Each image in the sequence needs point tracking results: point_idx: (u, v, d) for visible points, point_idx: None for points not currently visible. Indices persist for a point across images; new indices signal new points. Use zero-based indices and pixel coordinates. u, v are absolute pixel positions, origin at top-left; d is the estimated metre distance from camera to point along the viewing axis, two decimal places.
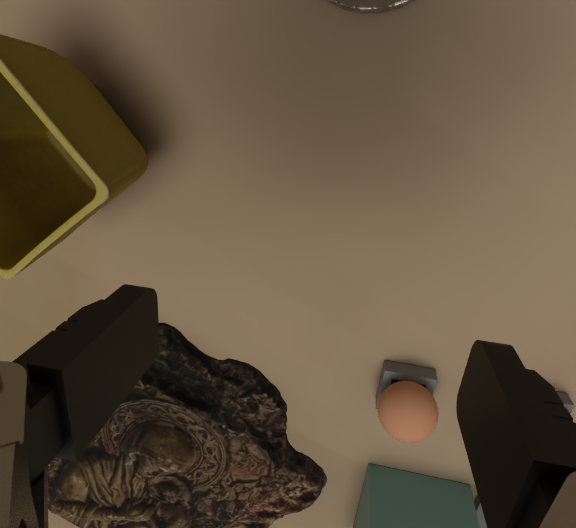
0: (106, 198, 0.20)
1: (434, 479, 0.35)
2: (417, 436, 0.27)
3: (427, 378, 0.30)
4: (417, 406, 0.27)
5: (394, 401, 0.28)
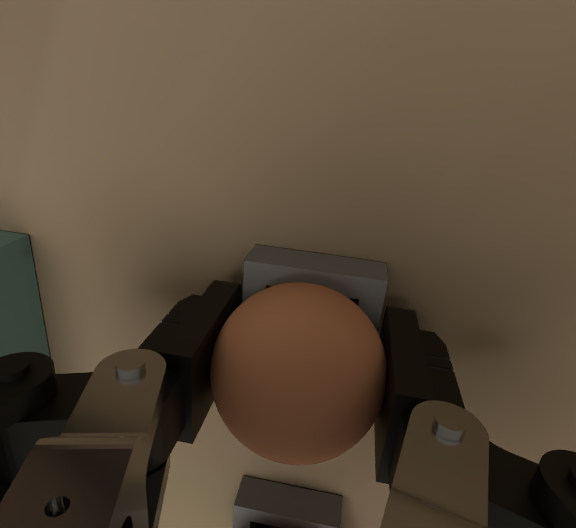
0: None
1: None
2: (270, 448, 0.08)
3: None
4: (366, 426, 0.09)
5: (364, 357, 0.08)
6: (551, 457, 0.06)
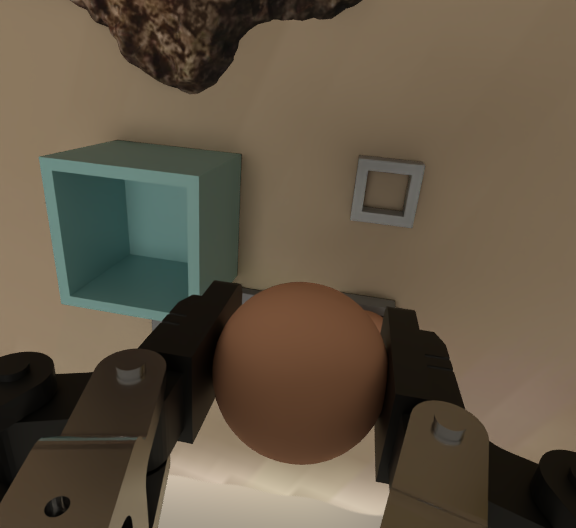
0: None
1: (237, 237, 0.28)
2: (272, 447, 0.08)
3: (413, 217, 0.24)
4: (368, 426, 0.09)
5: (366, 357, 0.08)
6: (551, 457, 0.06)
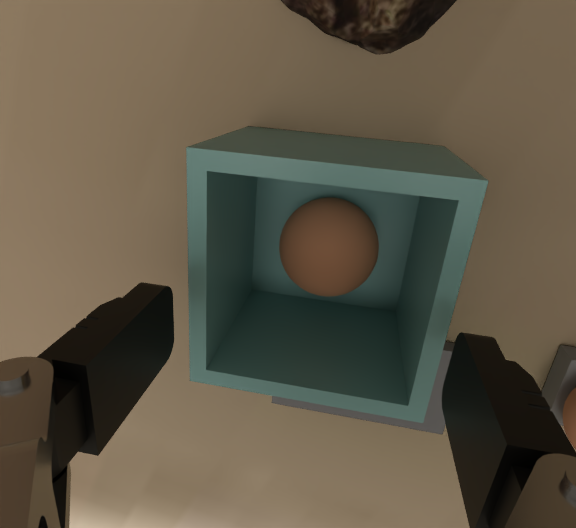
0: None
1: None
2: (316, 277, 0.16)
3: None
4: (367, 268, 0.16)
5: (366, 230, 0.16)
6: None
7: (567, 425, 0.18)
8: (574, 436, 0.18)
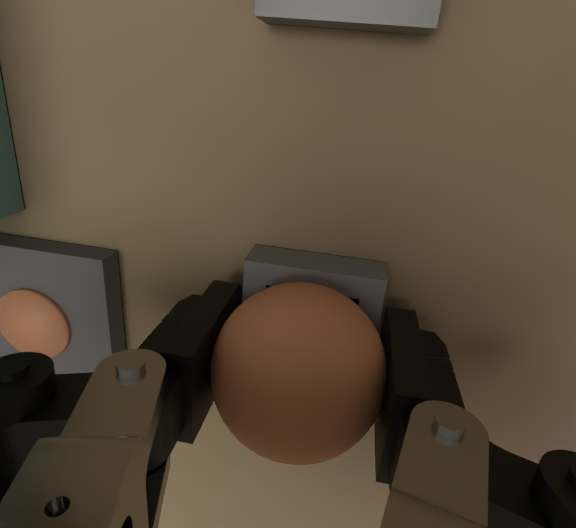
0: None
1: (0, 109, 0.11)
2: None
3: None
4: None
5: None
6: (551, 457, 0.06)
7: None
8: None
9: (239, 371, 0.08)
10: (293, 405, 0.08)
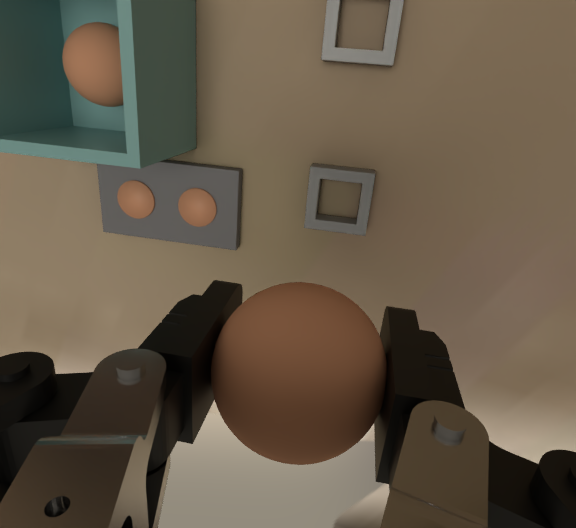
0: None
1: (194, 98, 0.24)
2: (81, 75, 0.21)
3: (394, 50, 0.21)
4: None
5: None
6: (551, 457, 0.06)
7: None
8: None
9: (240, 371, 0.08)
10: (294, 405, 0.08)
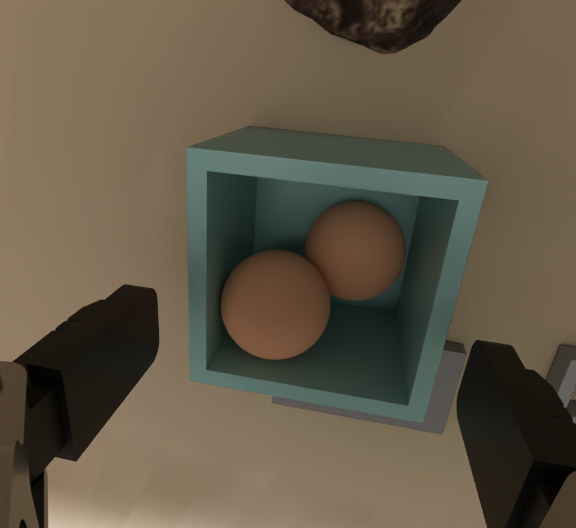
0: None
1: None
2: (372, 283, 0.16)
3: None
4: (403, 263, 0.17)
5: (399, 227, 0.16)
6: None
7: None
8: None
9: None
10: None
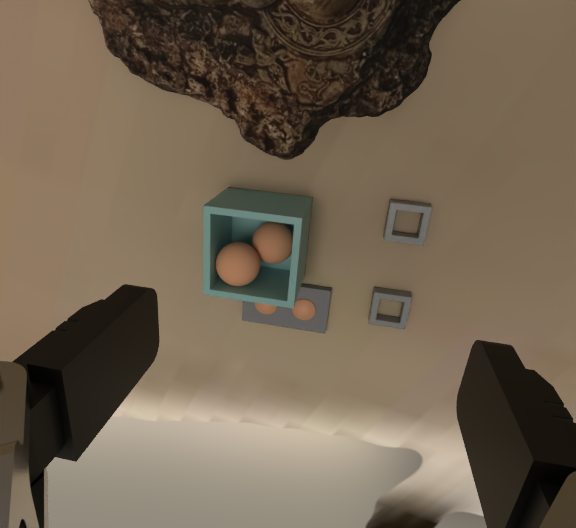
0: None
1: (306, 250, 0.42)
2: (277, 255, 0.38)
3: (424, 238, 0.39)
4: None
5: (290, 232, 0.39)
6: None
7: None
8: None
9: None
10: None
